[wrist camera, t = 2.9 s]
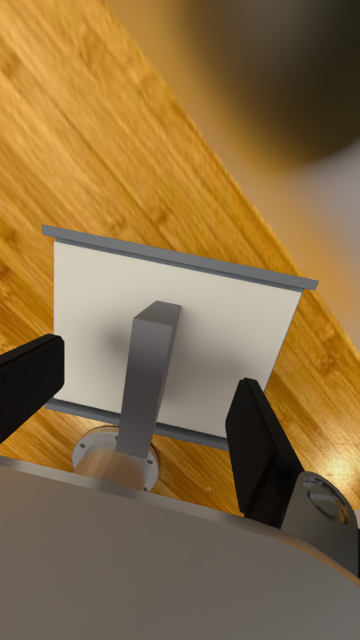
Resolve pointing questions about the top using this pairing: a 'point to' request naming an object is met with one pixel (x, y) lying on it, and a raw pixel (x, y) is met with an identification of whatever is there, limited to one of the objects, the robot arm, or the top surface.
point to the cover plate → (201, 342)
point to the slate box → (182, 262)
